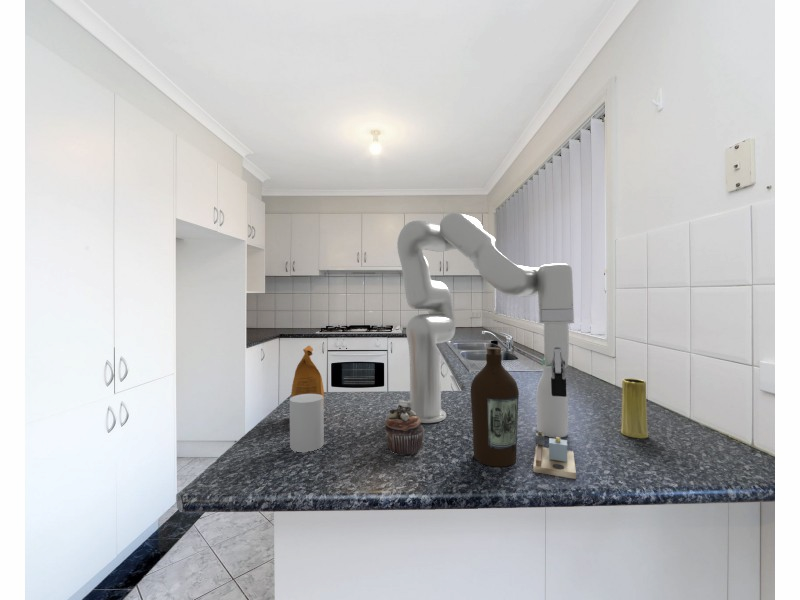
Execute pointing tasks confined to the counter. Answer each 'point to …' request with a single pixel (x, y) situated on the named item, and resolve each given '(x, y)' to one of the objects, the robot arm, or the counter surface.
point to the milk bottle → (551, 408)
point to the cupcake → (404, 431)
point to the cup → (306, 422)
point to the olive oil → (494, 413)
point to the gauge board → (552, 461)
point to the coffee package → (307, 377)
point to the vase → (634, 408)
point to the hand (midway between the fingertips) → (559, 395)
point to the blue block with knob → (558, 449)
